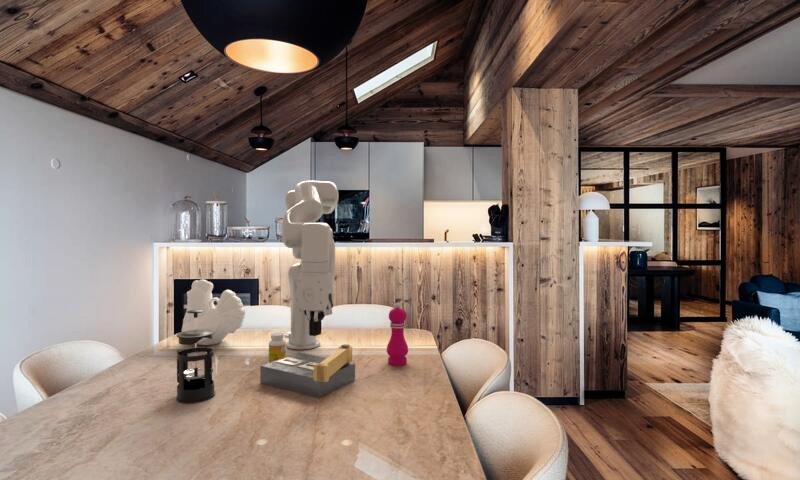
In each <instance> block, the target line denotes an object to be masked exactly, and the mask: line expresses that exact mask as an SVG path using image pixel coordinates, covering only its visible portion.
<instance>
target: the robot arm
mask: <svg viewBox="0 0 800 480" xmlns="http://www.w3.org/2000/svg"><path fill="white" fill-rule="evenodd" d="M339 194H340V193H339V190H338V187H337V185H336V184H335V183H334V182H332V181H325V180H324V181H323V180H322V181H321V180H304V181H301V182H299V183H297V185H296V186H295V188H294V189H293V190H290V191H287V193H286V194H285V198H284V200H285V201H284V202H285V206H286V210H287V211H286V212H285V213H284V215H283V218H282V220H281V221H282V222H281V238H282V242H283V244H284V246H285V247H287V248H289V249H292V256H293V257H294V259H296V260H300V261H301V262H297V263H295V264H292V265H291V266H290V267H289V268H288V271H287V272H288V274H287V275H288V284H289V292H290V293H289V295H290V331H288V332H287V333H286V334H284V338H285V339H288V341H287V342H286V348H288V349H290V350H310V349H311V350H312V349H315V348H318V347H319V346H321V341H320V340H319V339H317V336H320V335H321V334H322V321H323V320H324V319H325V317H326V316H331V315H333V308H334V302H335V301H334V300H335V299H334V293H335V292H334V286H333V285H334V284H335V280H336V279H335V278H336V277H335V276H336V245H335V241H334V238H333V237H334V234H333V229H332V228H331V226H330V225H329V224H328V223H327V222H318V220H319V219H321V217H322V216H323V215H328V214H332V212H334V210H335V209H336V207H337V205H338V203H339V196H340V195H339Z"/></svg>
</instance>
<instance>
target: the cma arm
mask: <svg viewBox="0 0 800 480" xmlns="http://www.w3.org/2000/svg"><path fill="white" fill-rule="evenodd" d="M325 358H326V359H325V360H323V361H322V362H321V363H319V364H315V365H314V381H322V382H328V381H329V377H330V376H331V375H333V374H334V373H335V372H336V371H337V370H339V369H340V368H341V367H342V366H343V365H345V364H349V363H353V346H352V345H350V344H346V343H345V344H341V345H339V346H338V349H337V350H336V351H334V352H333V353H332V354H331V355H329V356H327V357H325Z"/></svg>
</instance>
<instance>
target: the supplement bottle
mask: <svg viewBox="0 0 800 480" xmlns="http://www.w3.org/2000/svg"><path fill="white" fill-rule="evenodd" d="M284 338H285V334H284V333H283V332H275V333H271V334H270V339H271V340H270V341H269V343H268V363H270V362H273V361H276V360H279V359H282V358H285V357H287V356H286V354H287V353H286V348H287V342H286V340H285V339H284Z"/></svg>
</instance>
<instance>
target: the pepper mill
mask: <svg viewBox="0 0 800 480" xmlns="http://www.w3.org/2000/svg"><path fill="white" fill-rule="evenodd" d="M388 319H389V320H390V323H389V324H390V325H389V327H390V329H391V335H390V338H389V341H388V343H387V345H386V353H387V355H388V357H387V364H389V365H390V366H394V367H395V366H399V367H401V366H404V365H406V364H407V361H408V359H407V355H408V353H409V346H408V344H407V341H406V339H405V336H404V328H405V327H406V325H405V324H406V323H405V321H406V319H407V313H406V310H405V309H403V308H401V304H400V303H398V302H397V303H395V305H394V308H392V309H391V310H390V311H389V312H388Z"/></svg>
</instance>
